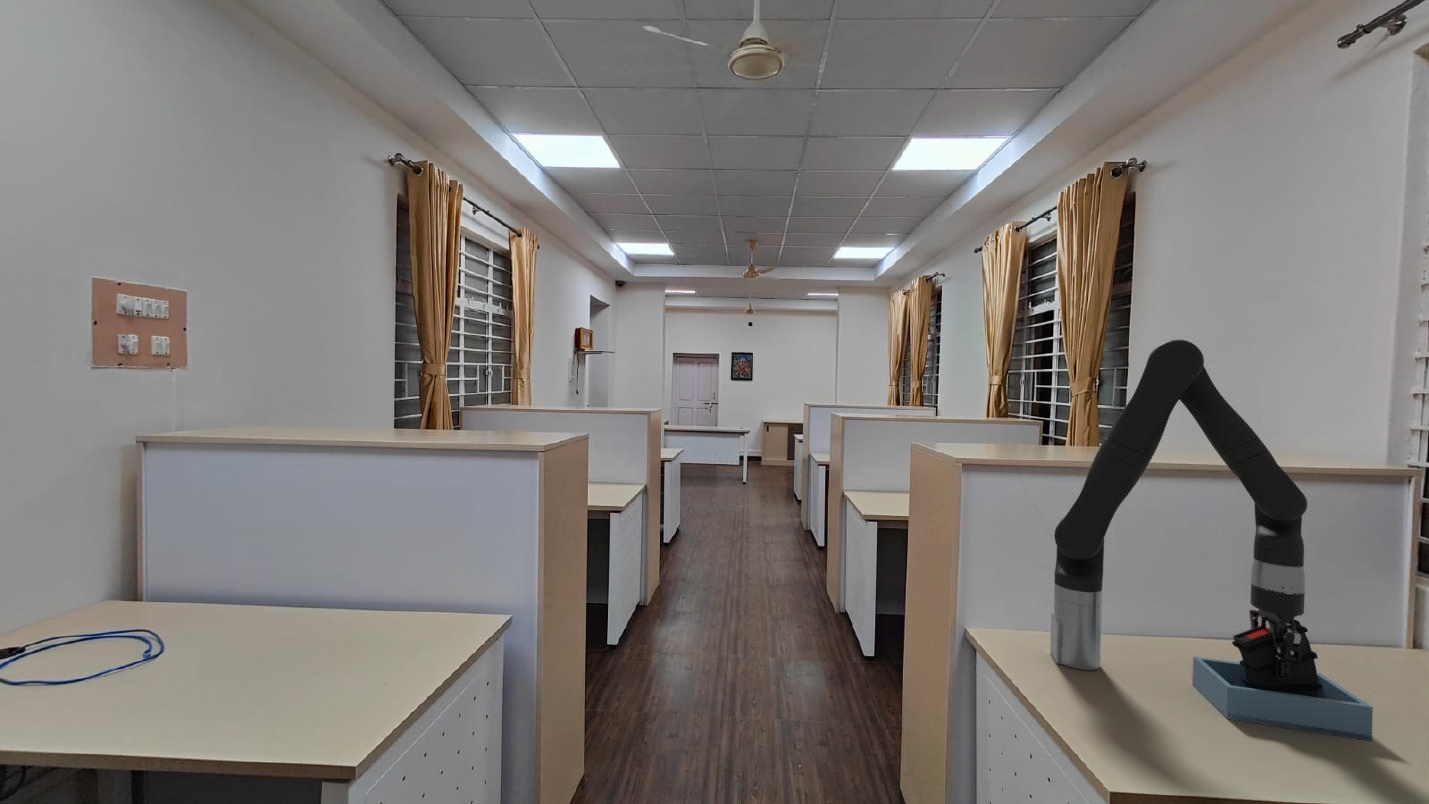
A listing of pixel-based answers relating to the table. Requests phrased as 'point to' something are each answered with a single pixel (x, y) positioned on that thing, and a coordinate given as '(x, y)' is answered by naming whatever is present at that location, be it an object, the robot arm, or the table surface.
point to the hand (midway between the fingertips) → (1274, 673)
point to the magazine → (1261, 664)
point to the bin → (1282, 702)
